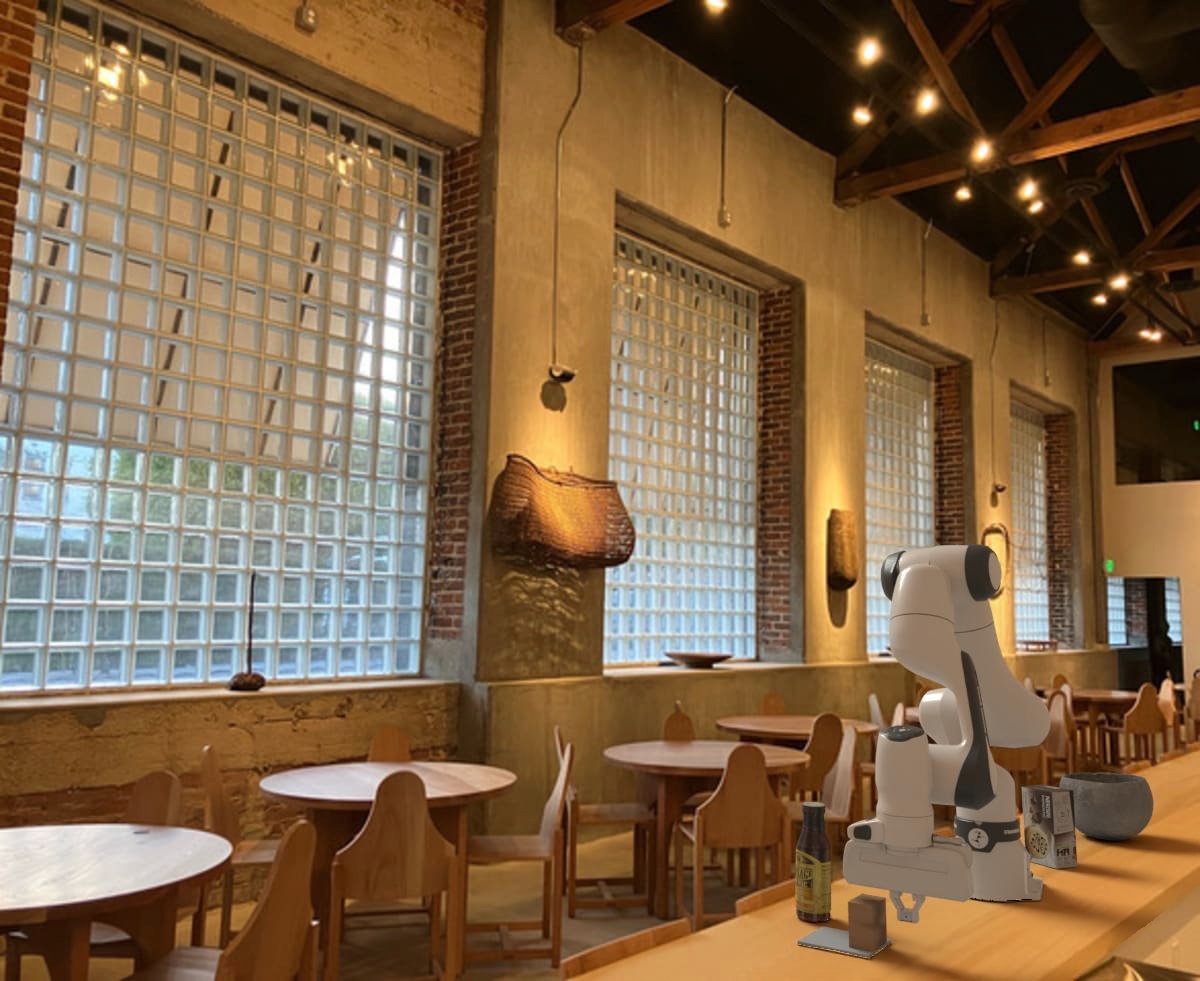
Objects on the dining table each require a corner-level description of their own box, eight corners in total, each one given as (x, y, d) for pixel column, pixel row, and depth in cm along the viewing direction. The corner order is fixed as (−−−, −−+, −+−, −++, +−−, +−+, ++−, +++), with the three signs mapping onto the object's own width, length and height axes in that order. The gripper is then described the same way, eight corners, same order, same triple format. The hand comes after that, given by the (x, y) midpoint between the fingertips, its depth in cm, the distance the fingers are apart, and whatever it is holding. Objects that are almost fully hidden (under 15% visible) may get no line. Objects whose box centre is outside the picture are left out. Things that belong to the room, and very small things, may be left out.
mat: (822, 930, 176) (822, 926, 176) (891, 943, 169) (891, 939, 169) (797, 944, 168) (797, 941, 168) (868, 959, 161) (868, 955, 161)
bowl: (1134, 830, 260) (1131, 769, 262) (1171, 848, 240) (1167, 782, 242) (1049, 828, 262) (1047, 768, 264) (1078, 846, 242) (1075, 780, 244)
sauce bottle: (789, 915, 185) (787, 801, 187) (819, 912, 187) (816, 799, 189) (808, 925, 179) (806, 807, 181) (839, 922, 181) (837, 805, 183)
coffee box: (1079, 867, 222) (1075, 789, 224) (1056, 869, 219) (1052, 791, 221) (1046, 857, 230) (1042, 783, 232) (1023, 860, 228) (1020, 785, 230)
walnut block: (863, 937, 170) (862, 893, 171) (886, 942, 168) (885, 897, 169) (849, 947, 165) (847, 901, 166) (873, 952, 163) (871, 905, 164)
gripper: (977, 835, 161) (981, 928, 160) (852, 820, 173) (855, 906, 171) (965, 842, 156) (969, 938, 155) (837, 826, 168) (839, 915, 166)
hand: (908, 921), depth 163 cm, fingers closed
